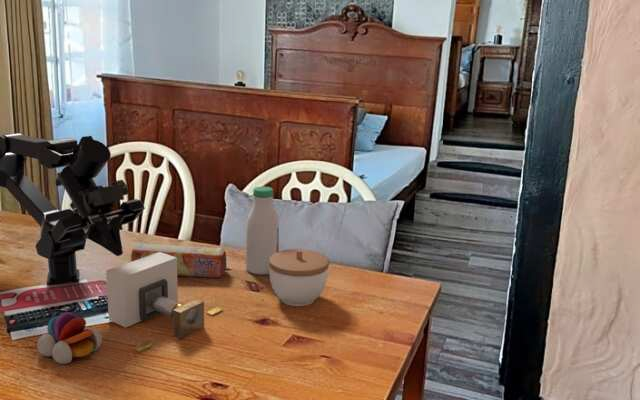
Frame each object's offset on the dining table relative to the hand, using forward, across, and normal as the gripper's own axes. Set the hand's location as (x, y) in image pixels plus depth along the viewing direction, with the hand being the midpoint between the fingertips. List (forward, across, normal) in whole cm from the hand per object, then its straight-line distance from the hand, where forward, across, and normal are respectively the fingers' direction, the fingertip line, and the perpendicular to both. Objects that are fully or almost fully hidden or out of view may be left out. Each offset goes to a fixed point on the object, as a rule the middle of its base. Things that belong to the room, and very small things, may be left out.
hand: (120, 254), depth 120 cm
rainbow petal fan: (+14, -18, +2) cm, 22 cm away
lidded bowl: (+26, +25, -11) cm, 38 cm away
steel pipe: (+15, 0, 0) cm, 15 cm away
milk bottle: (+15, +33, +1) cm, 36 cm away
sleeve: (+12, 0, +3) cm, 13 cm away
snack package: (+6, +19, +10) cm, 22 cm away
